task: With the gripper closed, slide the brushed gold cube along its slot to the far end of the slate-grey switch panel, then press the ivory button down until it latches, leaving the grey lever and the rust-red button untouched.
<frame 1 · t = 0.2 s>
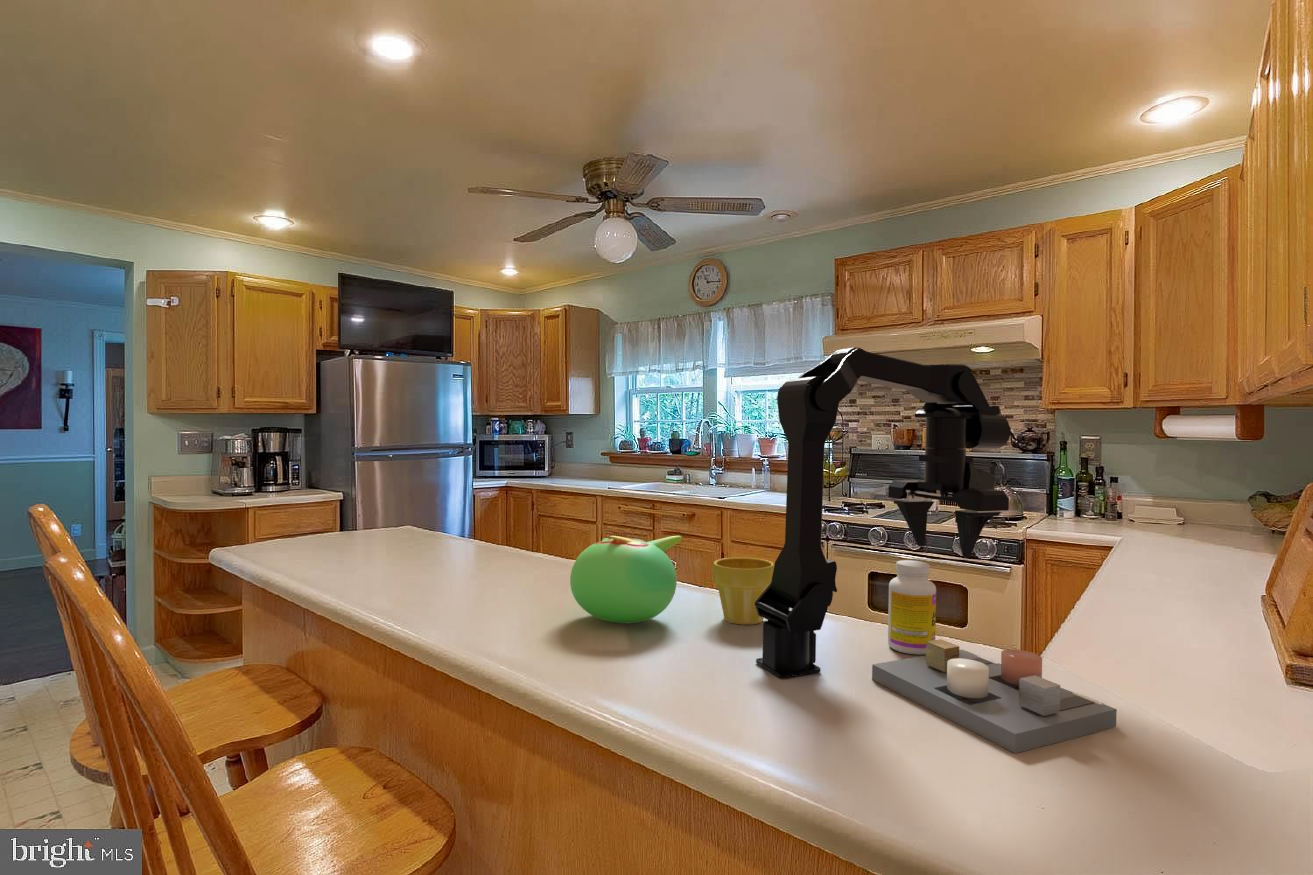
hand: (942, 551, 101), 14 cm above the table, fingers open, 9 cm apart
lever grey: (1039, 695, 73), point 4 cm above the table, slide at 0.0 cm
supplement bottle: (911, 649, 99), on the table
toy bird: (624, 620, 112), on the table
button rust: (1021, 667, 81), point 4 cm above the table, slide at 0.0 cm
button ivory: (967, 677, 78), point 4 cm above the table, slide at 0.0 cm
plant pot: (743, 620, 113), on the table
brushed gold cube: (942, 655, 85), point 4 cm above the table, slide at 0.0 cm
panel: (984, 701, 80), on the table
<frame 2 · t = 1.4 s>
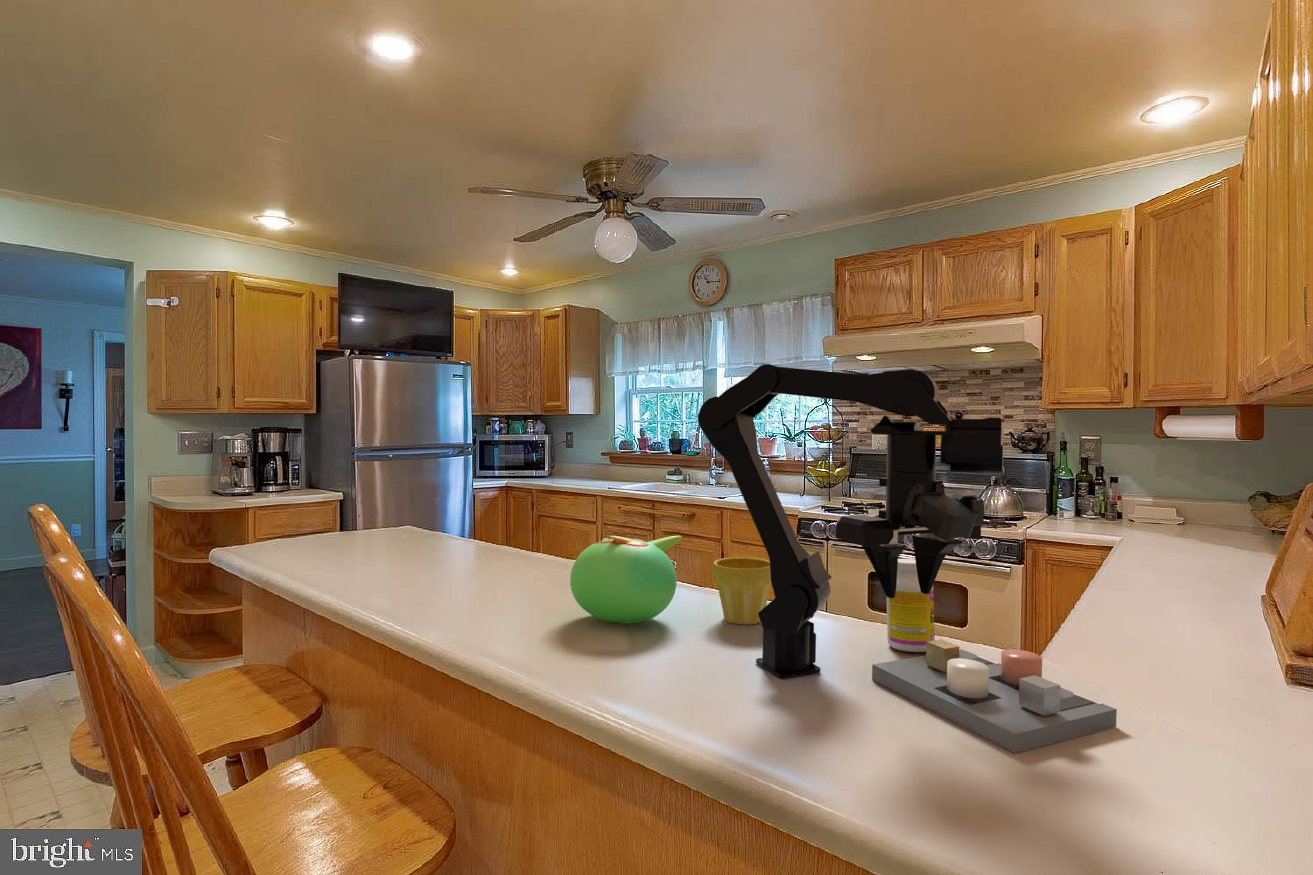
hand: (908, 595, 83), 12 cm above the table, fingers open, 5 cm apart
nothing on the table moved.
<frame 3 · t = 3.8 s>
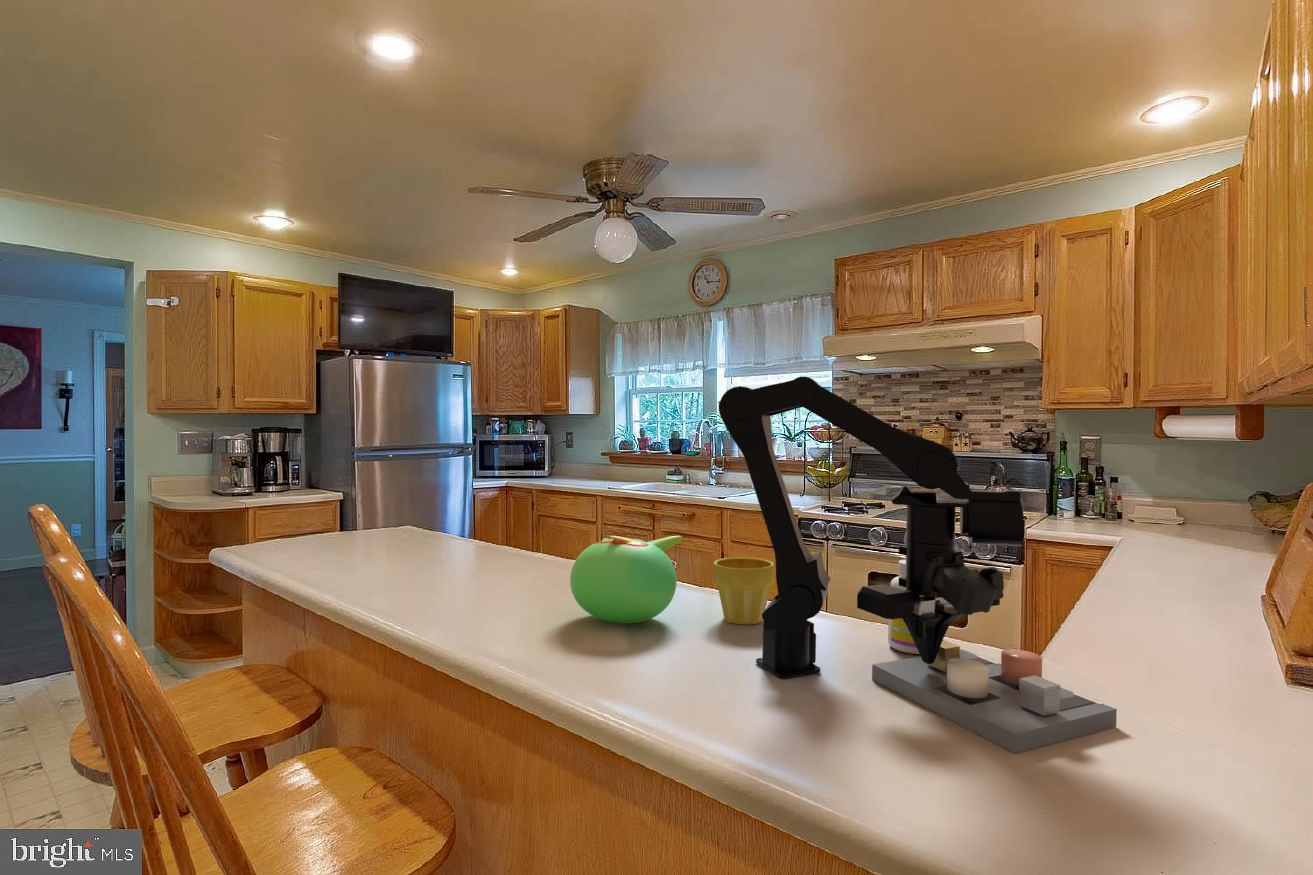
hand: (928, 662, 84), 3 cm above the table, fingers closed
brushed gold cube: (943, 655, 85), point 4 cm above the table, slide at 0.1 cm, touching gripper
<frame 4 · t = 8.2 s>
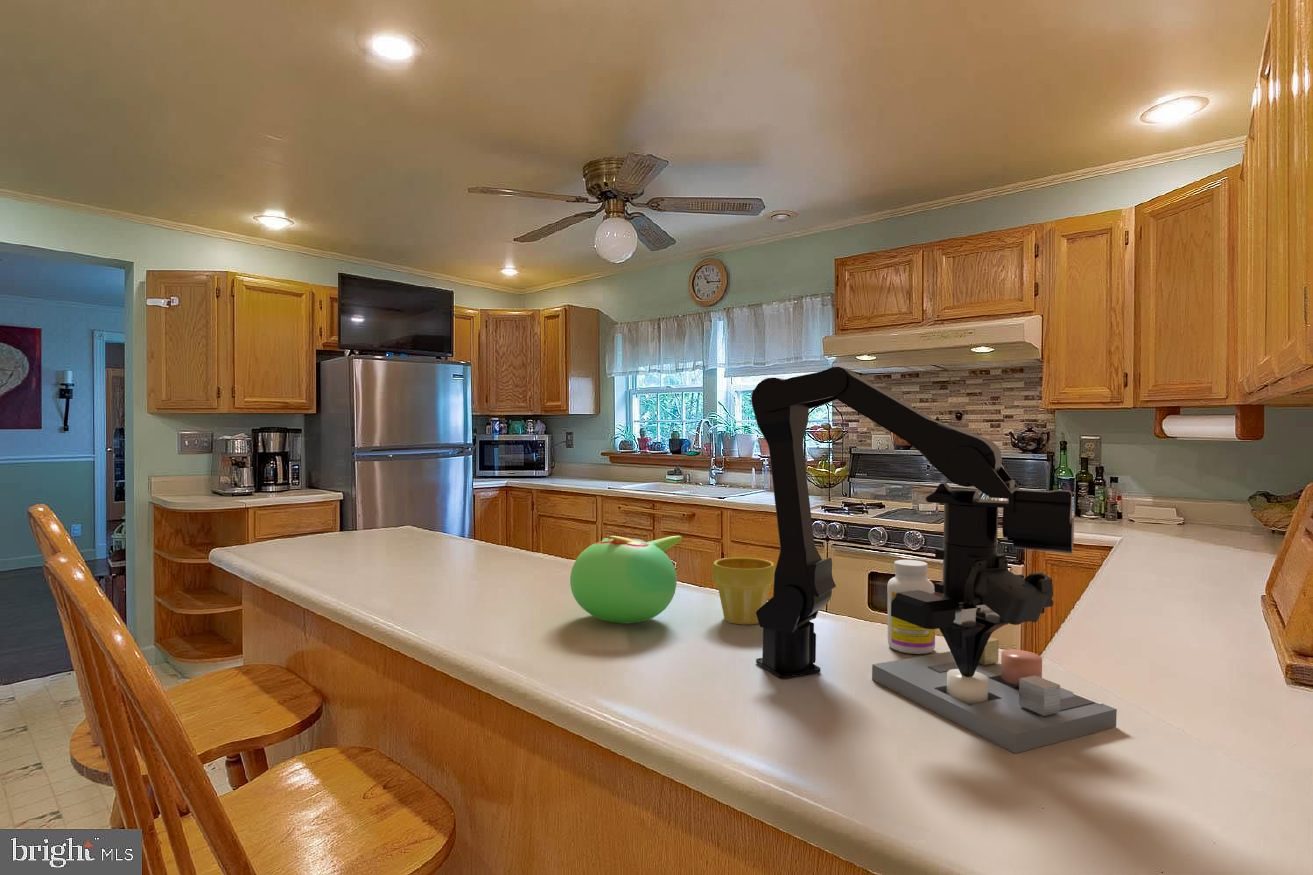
hand: (967, 675, 78), 4 cm above the table, fingers closed, pressing on button ivory
button ivory: (967, 688, 78), point 3 cm above the table, slide at 1.3 cm, touching gripper
brushed gold cube: (982, 648, 88), point 4 cm above the table, slide at 7.0 cm
everything else where it was.
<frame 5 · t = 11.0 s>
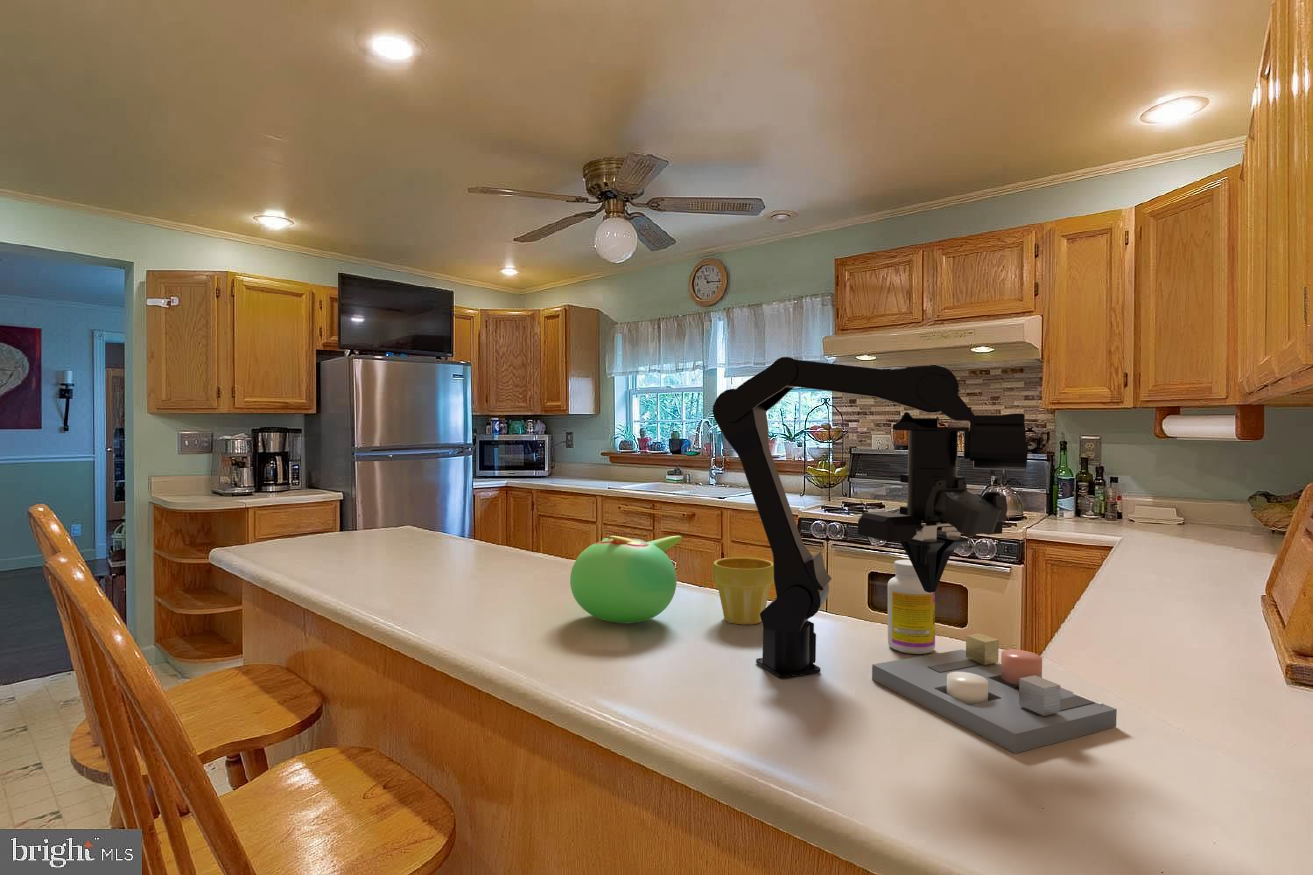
hand: (929, 591, 83), 13 cm above the table, fingers closed
button ivory: (967, 691, 78), point 2 cm above the table, slide at 1.6 cm
everything else where it was.
at the end: brushed gold cube slide at 7.0 cm; button ivory slide at 1.6 cm; lever grey slide at 0.0 cm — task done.
